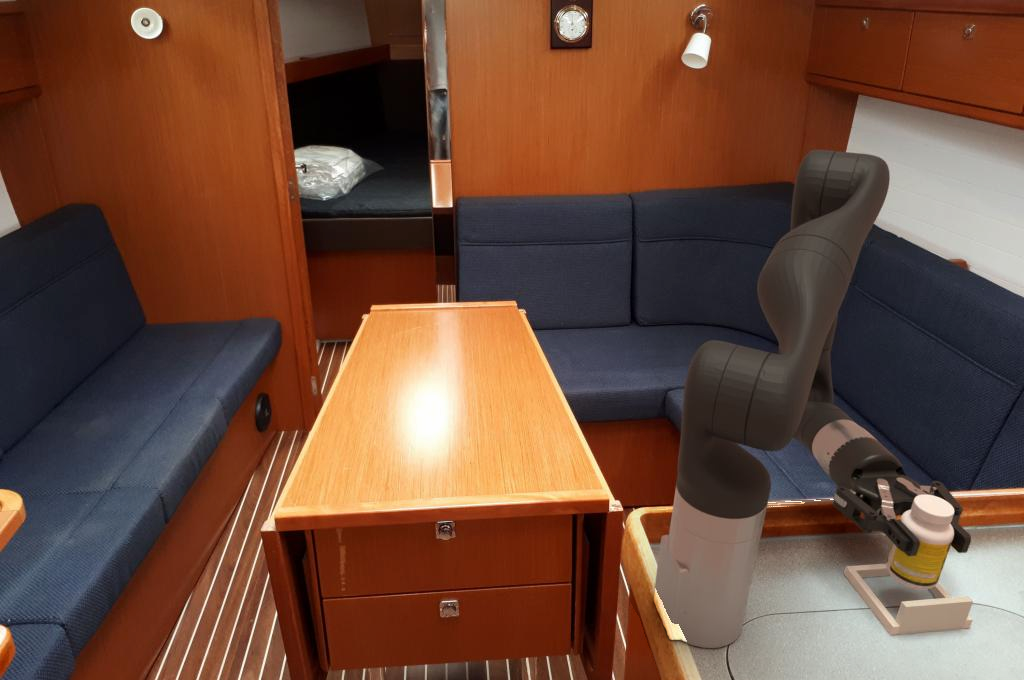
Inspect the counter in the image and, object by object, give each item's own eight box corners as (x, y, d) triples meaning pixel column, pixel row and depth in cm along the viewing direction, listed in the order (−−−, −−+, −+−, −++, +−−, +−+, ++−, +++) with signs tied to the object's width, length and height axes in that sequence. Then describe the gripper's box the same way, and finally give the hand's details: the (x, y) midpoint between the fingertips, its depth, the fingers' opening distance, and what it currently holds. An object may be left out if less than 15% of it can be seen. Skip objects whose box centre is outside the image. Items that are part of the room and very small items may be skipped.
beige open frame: (890, 635, 82) (899, 607, 80) (844, 574, 90) (851, 548, 89) (969, 627, 83) (979, 600, 81) (916, 568, 92) (924, 542, 90)
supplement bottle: (944, 595, 82) (969, 524, 78) (892, 587, 83) (914, 516, 79) (929, 562, 87) (952, 493, 83) (880, 555, 88) (900, 486, 84)
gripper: (808, 438, 93) (888, 524, 77) (913, 433, 95) (1011, 516, 79) (797, 487, 96) (871, 579, 80) (899, 482, 98) (990, 571, 82)
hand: (940, 547), depth 80 cm, fingers closed on supplement bottle, 5 cm apart
